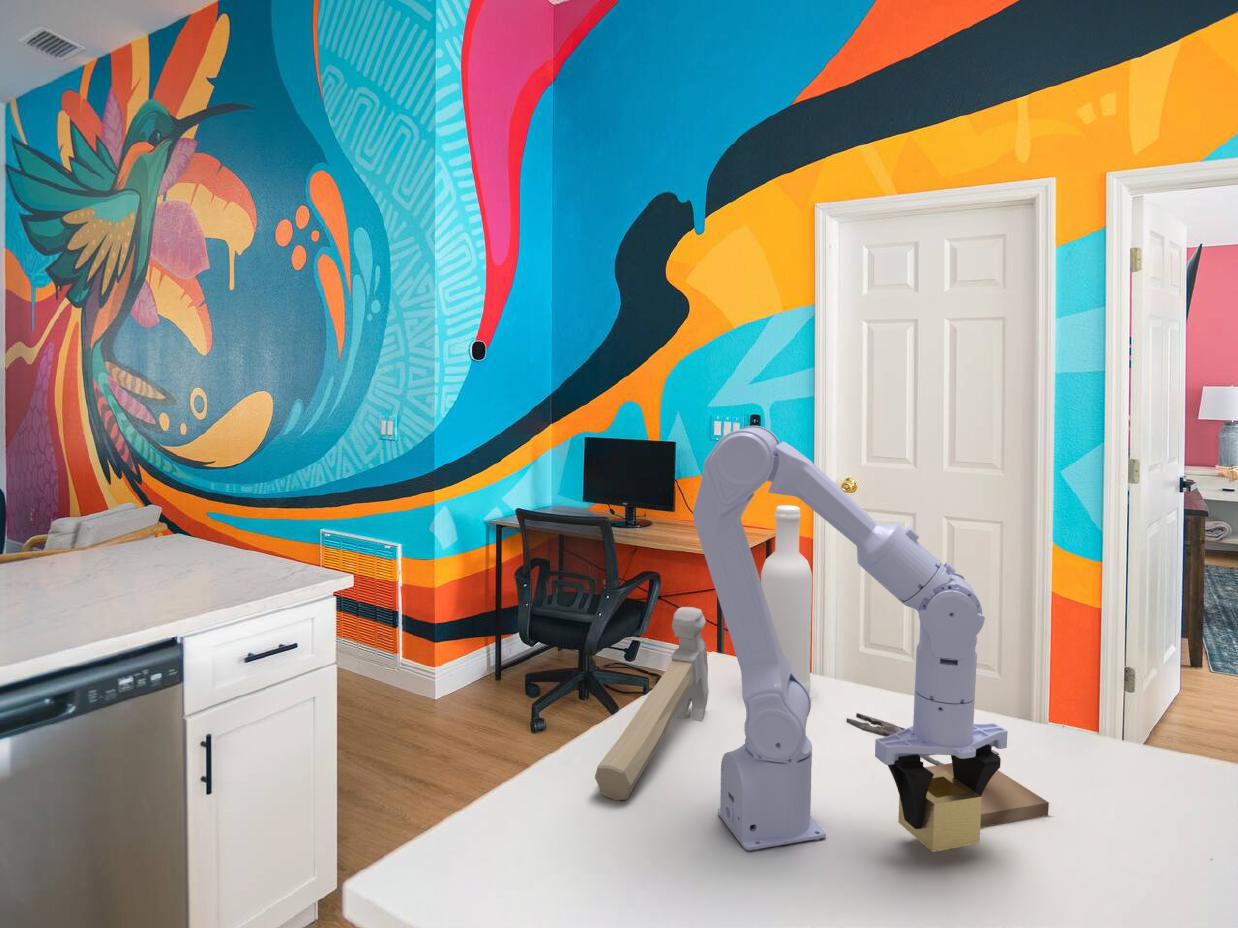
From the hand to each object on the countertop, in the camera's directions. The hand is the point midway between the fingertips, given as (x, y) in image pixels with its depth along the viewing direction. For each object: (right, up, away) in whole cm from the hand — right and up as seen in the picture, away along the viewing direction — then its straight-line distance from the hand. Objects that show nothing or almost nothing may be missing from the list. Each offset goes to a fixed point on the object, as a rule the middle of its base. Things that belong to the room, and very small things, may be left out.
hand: (938, 819), depth 83 cm
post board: (+9, -2, +11) cm, 14 cm away
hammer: (-28, -2, +23) cm, 36 cm away
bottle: (-7, 0, +42) cm, 42 cm away
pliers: (+7, -2, +25) cm, 26 cm away
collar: (0, -1, 0) cm, 1 cm away
